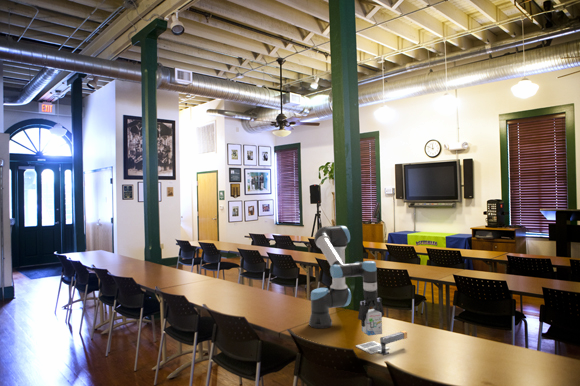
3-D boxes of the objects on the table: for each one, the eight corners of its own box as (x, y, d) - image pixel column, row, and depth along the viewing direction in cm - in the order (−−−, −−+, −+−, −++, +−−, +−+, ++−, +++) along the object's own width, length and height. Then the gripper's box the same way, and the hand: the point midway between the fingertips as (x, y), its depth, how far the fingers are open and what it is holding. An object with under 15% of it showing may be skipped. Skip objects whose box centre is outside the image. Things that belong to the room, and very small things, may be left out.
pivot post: (378, 352, 206) (377, 343, 206) (383, 351, 208) (383, 342, 208) (383, 355, 203) (383, 346, 203) (389, 353, 205) (388, 344, 205)
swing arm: (383, 345, 203) (383, 339, 204) (379, 343, 206) (379, 337, 206) (407, 338, 213) (407, 332, 213) (403, 336, 216) (403, 330, 216)
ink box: (368, 336, 208) (367, 314, 208) (361, 331, 216) (360, 310, 217) (382, 334, 210) (381, 312, 211) (375, 329, 219) (374, 308, 219)
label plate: (355, 346, 216) (355, 345, 216) (373, 341, 222) (373, 340, 222) (371, 354, 204) (371, 353, 204) (389, 349, 211) (389, 347, 211)
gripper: (358, 293, 205) (360, 336, 205) (390, 288, 216) (391, 328, 215) (350, 291, 212) (351, 332, 211) (380, 285, 223) (382, 325, 222)
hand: (371, 330), depth 213 cm, fingers closed on ink box, 9 cm apart
